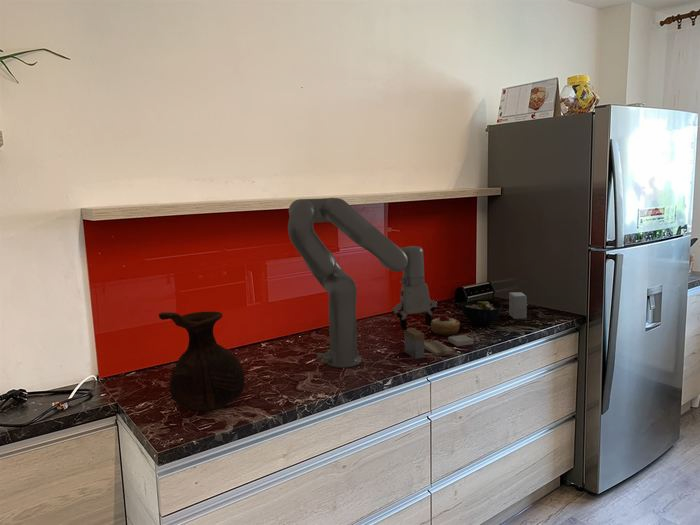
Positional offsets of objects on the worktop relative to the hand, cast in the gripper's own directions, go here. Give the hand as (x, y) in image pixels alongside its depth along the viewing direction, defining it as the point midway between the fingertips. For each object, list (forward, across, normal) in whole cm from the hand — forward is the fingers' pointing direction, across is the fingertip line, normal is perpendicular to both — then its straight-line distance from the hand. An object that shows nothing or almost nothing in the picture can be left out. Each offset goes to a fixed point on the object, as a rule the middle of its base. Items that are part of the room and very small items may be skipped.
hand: (416, 327), depth 191 cm
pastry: (+11, +23, +20) cm, 32 cm away
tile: (+10, +18, +5) cm, 21 cm away
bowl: (+12, +43, +24) cm, 50 cm away
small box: (+12, +64, +27) cm, 70 cm away
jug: (+8, -75, -14) cm, 77 cm away
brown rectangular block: (+10, -1, 0) cm, 10 cm away
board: (+10, +9, +2) cm, 14 cm away
